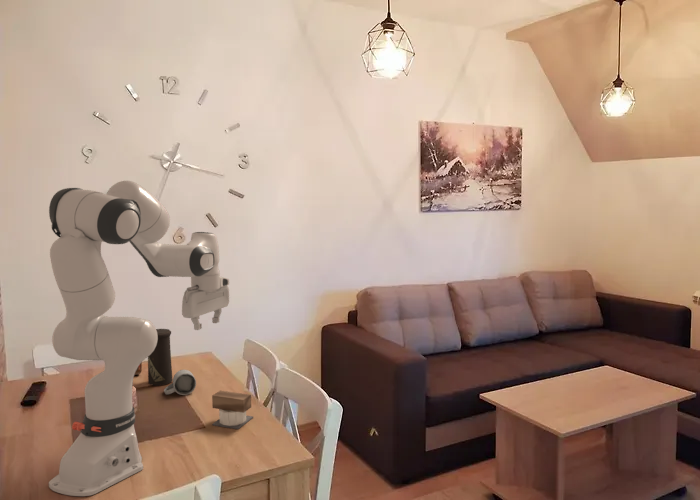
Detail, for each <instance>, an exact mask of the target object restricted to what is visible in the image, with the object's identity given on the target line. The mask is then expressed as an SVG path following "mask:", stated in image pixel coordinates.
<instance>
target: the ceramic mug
mask: <svg viewBox="0 0 700 500" xmlns="http://www.w3.org/2000/svg"><path fill="white" fill-rule="evenodd" d="M196 386H197V379H196V378H195V376H194V374H193V373H192V372H191V371H190V370H188V369H180V370H178V371H176V372H175V374H174V375H173V376H172V382H171V383H169V384H168V386H166V387H165V388H164V389H163V392H164V394H165V396H166V395H171V394H173V393H177V394H178V395H179V396H180V395H182V396H188V395H190V394H191V393H192V392H194V391H195V389H196Z"/></svg>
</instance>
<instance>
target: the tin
mask: <svg viewBox="0 0 700 500" xmlns="http://www.w3.org/2000/svg"><path fill="white" fill-rule="evenodd" d="M142 363H143V361H142V362H141V363H140V365H139V366H138V368H137V370H136V372H135V374H134V376H137V375H141V373H142V370H143V369H142V366H143V365H142Z"/></svg>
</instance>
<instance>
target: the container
mask: <svg viewBox="0 0 700 500" xmlns="http://www.w3.org/2000/svg"><path fill="white" fill-rule="evenodd" d="M156 330H157V335H158V340H157V345H156V347H155V349H154V351H153V352H152V353H151V355H149V356H148V357H147V380H148V381H147V382H148V384H149V385H150V386H155V387H156V386H158V387H159V386H165V385H170V384H172V383H173V368H172V355H171V351H172V350H171V334H172V331H171V330H170V329H168V328H156Z"/></svg>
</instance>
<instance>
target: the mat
mask: <svg viewBox="0 0 700 500" xmlns="http://www.w3.org/2000/svg"><path fill="white" fill-rule="evenodd" d="M252 419H254V416H251V415H246V421H245V422H244V423H242V424H239V425H233V426H227V425H222V424H221V423H220V418H219V419H217V420H216V421H214V422H213V423H212V424H211V426H215V427H222V428H227V429H232V430H234V429H235V430H239V429H241V428H242V427H243V426H244V425H246V424H247V423H248V422H250V421H251V420H252Z"/></svg>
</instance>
